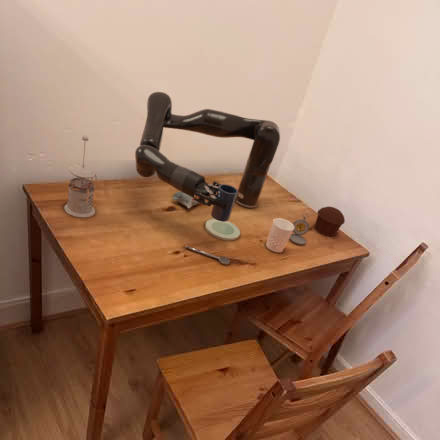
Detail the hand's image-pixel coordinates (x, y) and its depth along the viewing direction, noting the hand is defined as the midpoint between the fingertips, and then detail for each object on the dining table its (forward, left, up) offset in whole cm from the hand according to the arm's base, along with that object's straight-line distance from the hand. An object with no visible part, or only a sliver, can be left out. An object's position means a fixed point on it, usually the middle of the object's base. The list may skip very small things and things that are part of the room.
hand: (231, 203), depth 137 cm
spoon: (+7, -2, -17) cm, 19 cm away
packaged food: (-24, -17, -17) cm, 34 cm away
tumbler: (-1, -2, -6) cm, 6 cm away
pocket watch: (-26, +27, -17) cm, 41 cm away
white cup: (-14, +19, -17) cm, 29 cm away
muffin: (-42, +38, -17) cm, 59 cm away
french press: (+5, -47, -17) cm, 50 cm away
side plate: (-13, -1, -17) cm, 21 cm away
